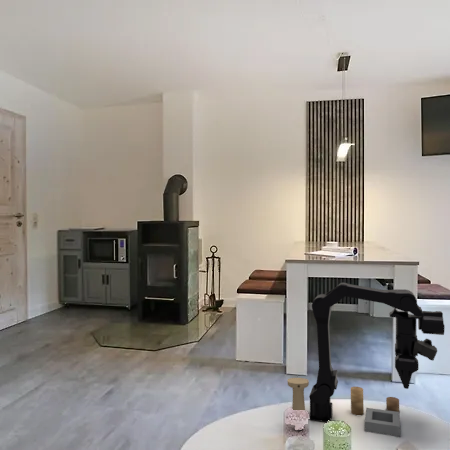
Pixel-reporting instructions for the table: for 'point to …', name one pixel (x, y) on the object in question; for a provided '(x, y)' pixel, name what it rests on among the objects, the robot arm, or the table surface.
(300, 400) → the handle
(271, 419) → the table surface
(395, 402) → the short peg
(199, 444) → the table surface
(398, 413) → the block
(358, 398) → the long peg
